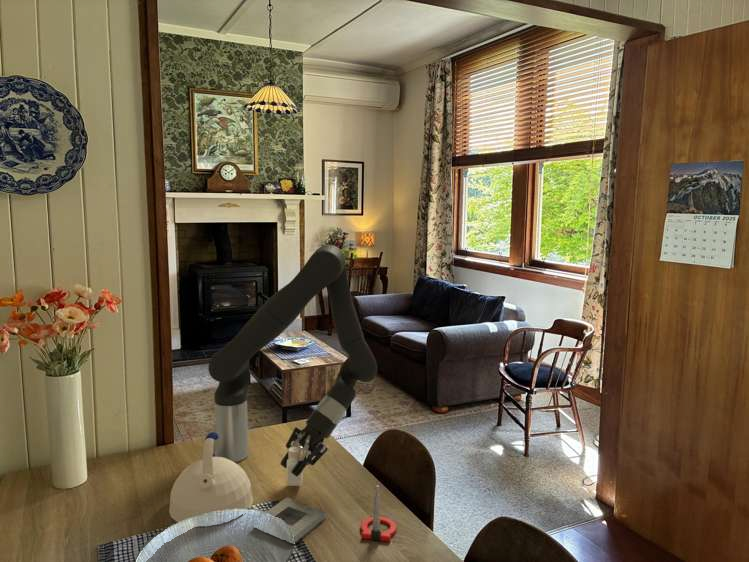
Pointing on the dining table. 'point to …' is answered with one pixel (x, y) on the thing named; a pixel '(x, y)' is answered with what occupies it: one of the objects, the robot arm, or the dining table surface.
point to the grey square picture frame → (298, 516)
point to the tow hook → (377, 524)
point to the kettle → (209, 485)
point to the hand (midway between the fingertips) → (288, 470)
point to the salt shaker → (293, 459)
